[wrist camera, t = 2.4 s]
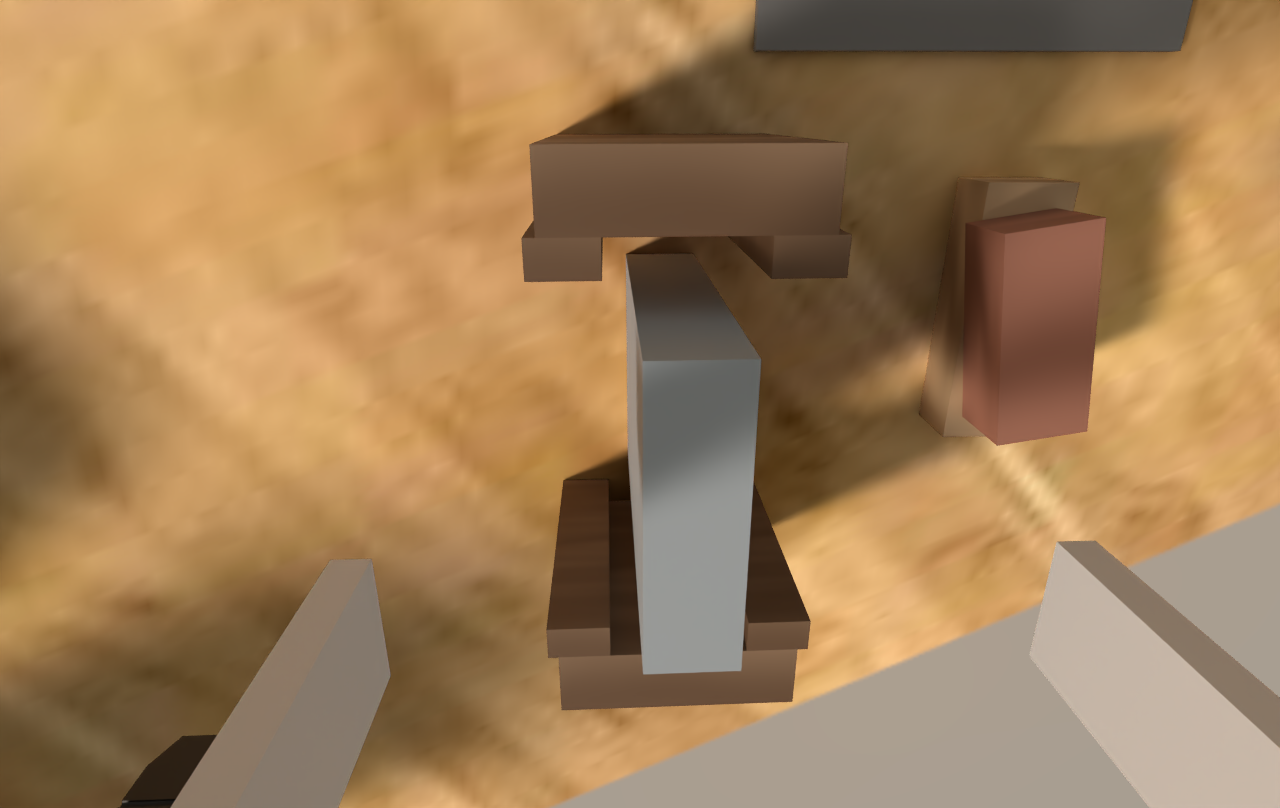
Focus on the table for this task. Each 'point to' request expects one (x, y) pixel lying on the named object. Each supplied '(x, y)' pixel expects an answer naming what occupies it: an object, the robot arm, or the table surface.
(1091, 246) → the mahogany offcut
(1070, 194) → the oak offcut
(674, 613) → the grey upright panel
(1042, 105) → the table surface
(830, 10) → the mat
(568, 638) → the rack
